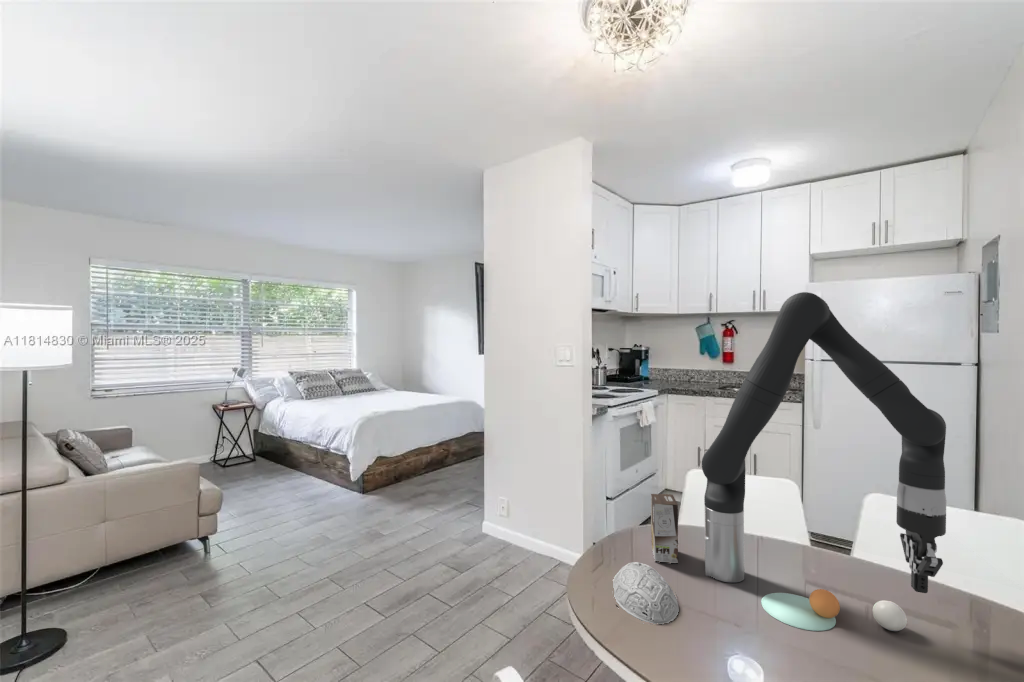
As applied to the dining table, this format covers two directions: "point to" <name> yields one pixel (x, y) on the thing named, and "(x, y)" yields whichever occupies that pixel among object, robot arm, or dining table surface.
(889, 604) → the cue ball
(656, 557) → the coffee box
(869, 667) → the dining table surface
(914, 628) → the dining table surface
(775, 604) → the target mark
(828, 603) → the orange ball
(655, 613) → the grey oval dome
